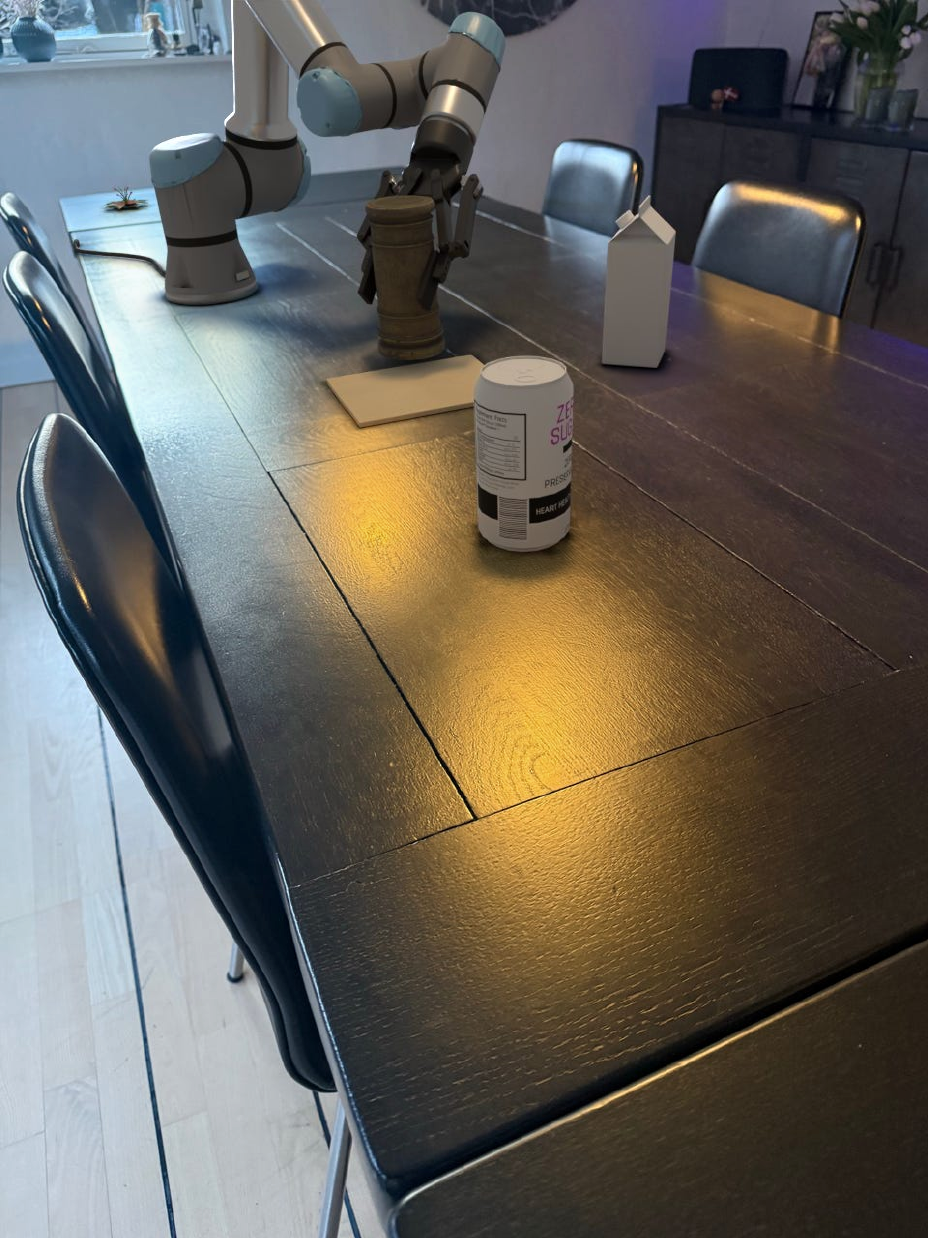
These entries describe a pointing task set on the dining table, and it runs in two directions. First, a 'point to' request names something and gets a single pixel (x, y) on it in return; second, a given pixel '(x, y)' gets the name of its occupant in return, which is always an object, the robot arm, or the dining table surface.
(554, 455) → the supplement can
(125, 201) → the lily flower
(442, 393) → the mat
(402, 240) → the container
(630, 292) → the milk carton
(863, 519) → the dining table surface
